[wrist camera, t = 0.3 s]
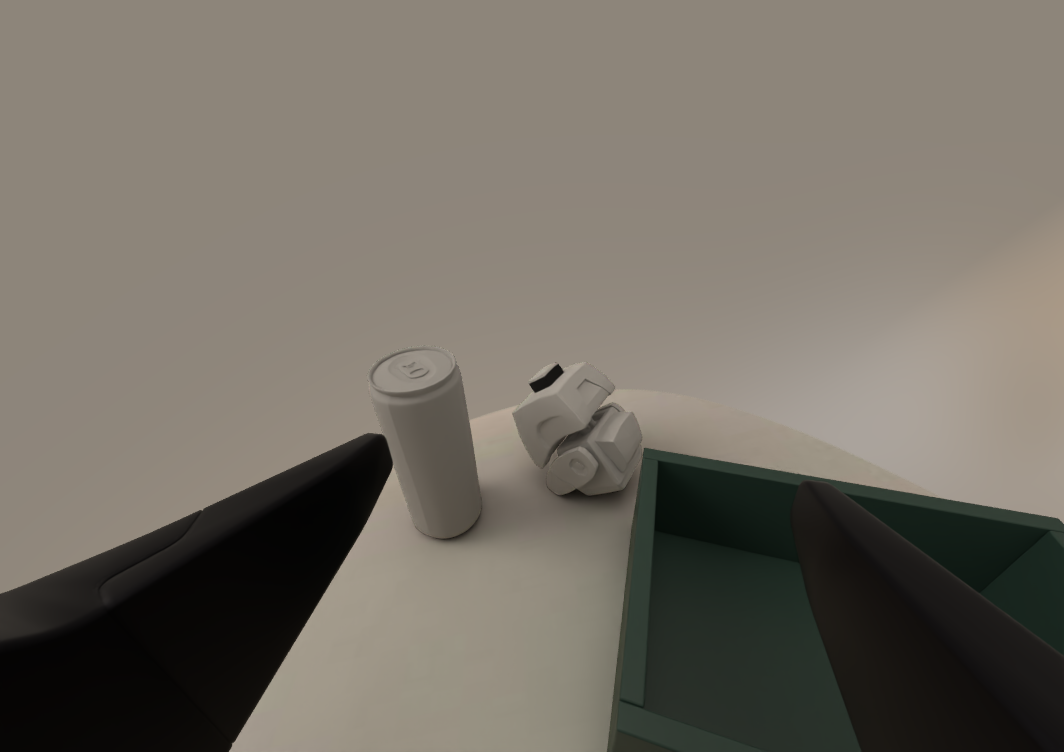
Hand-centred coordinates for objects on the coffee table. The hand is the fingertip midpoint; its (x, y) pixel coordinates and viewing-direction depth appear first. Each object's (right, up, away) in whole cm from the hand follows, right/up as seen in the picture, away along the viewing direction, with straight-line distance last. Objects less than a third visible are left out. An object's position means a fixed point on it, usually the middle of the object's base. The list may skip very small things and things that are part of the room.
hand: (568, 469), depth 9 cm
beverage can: (-7, -8, +19) cm, 21 cm away
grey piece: (+3, -5, +21) cm, 22 cm away
